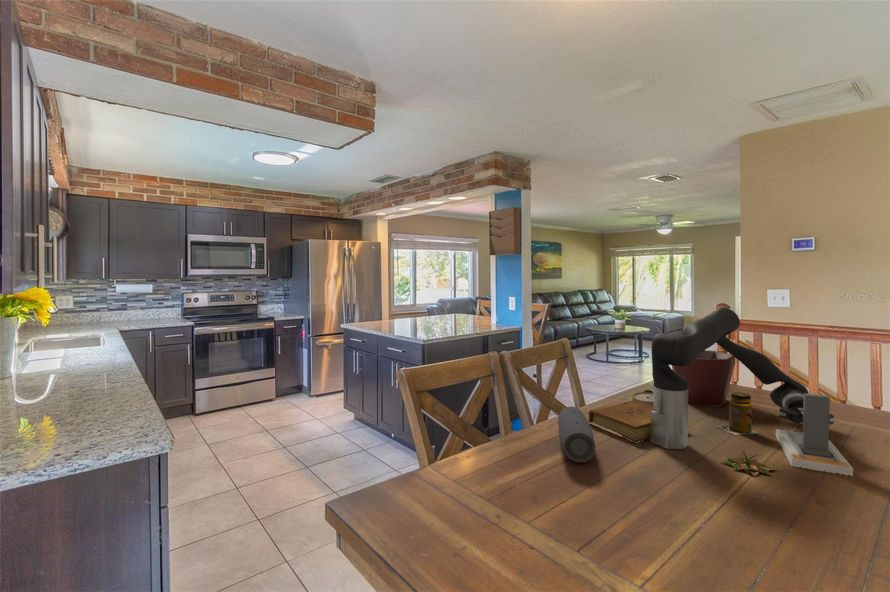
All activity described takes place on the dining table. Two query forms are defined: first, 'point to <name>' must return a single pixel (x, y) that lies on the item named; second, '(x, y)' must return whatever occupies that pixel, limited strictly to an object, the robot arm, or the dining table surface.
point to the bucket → (708, 377)
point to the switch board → (810, 461)
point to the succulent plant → (747, 462)
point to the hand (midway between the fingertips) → (813, 425)
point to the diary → (625, 419)
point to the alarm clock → (644, 396)
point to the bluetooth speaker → (576, 435)
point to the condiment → (740, 414)
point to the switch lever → (815, 425)
